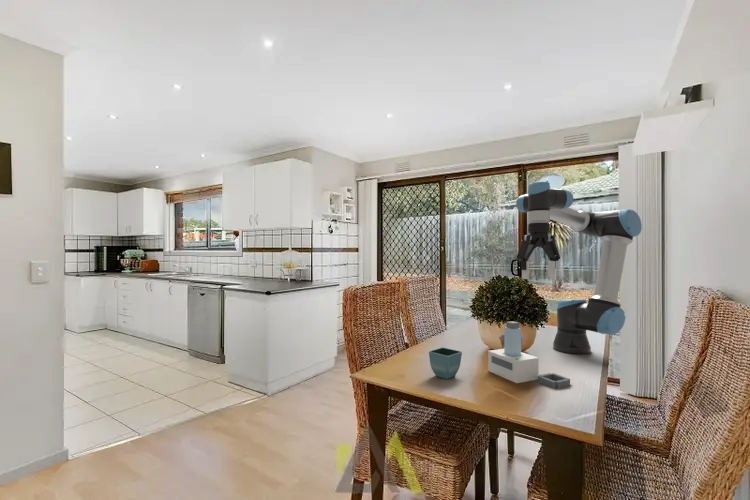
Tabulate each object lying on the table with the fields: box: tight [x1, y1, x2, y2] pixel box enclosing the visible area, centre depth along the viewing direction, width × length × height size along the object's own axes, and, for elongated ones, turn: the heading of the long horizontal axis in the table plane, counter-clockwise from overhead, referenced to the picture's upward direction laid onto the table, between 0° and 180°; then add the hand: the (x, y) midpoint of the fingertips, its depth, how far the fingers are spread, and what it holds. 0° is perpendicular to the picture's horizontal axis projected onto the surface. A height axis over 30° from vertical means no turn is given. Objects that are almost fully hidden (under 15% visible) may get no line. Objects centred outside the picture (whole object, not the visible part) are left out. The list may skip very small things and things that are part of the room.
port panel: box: [487, 348, 540, 384], centre depth 132 cm, size 10×14×8 cm
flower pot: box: [428, 347, 463, 380], centre depth 133 cm, size 9×9×9 cm
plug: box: [503, 320, 522, 357], centre depth 132 cm, size 4×4×15 cm
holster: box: [535, 372, 573, 390], centre depth 124 cm, size 8×8×2 cm
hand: (538, 278), depth 140 cm, fingers open, 13 cm apart
